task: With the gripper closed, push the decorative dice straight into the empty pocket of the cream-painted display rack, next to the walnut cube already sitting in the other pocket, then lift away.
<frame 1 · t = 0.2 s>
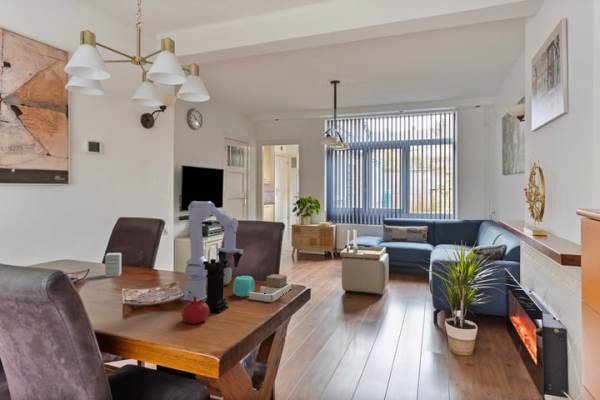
hand: (229, 266, 184), 10 cm above the table, fingers open, 7 cm apart
decorative dice: (243, 294, 168), on the table
supplement box: (113, 275, 203), on the table
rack: (270, 294, 169), on the table
teacup: (223, 284, 187), on the table
pomegranate: (195, 321, 131), on the table
chess piece: (215, 310, 144), on the table
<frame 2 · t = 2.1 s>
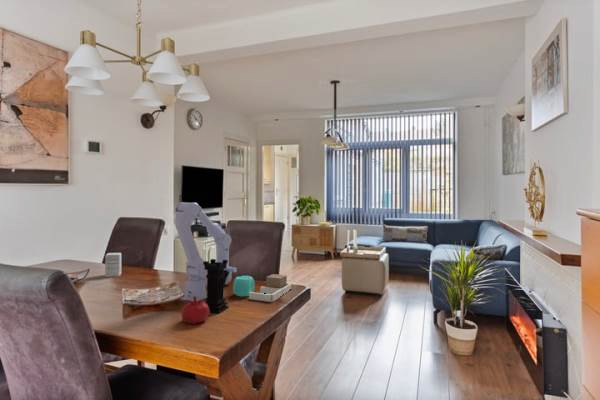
hand: (222, 285, 172), 3 cm above the table, fingers closed
nothing on the table moved.
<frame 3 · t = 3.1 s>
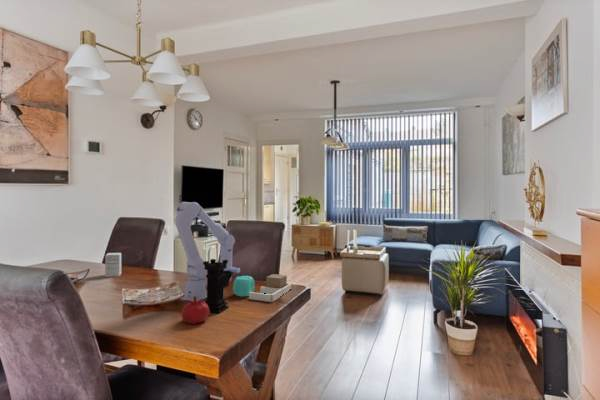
hand: (225, 286, 171), 3 cm above the table, fingers closed
nothing on the table moved.
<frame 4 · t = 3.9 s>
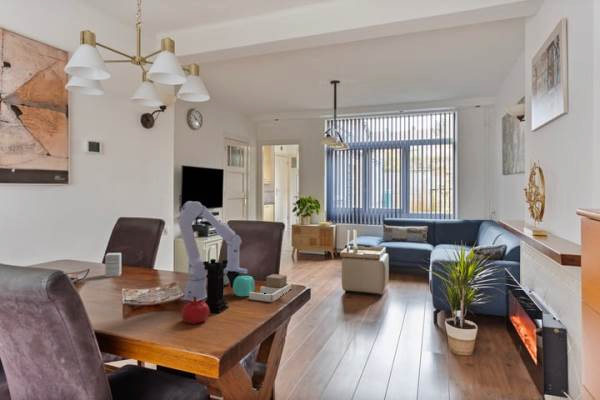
hand: (232, 287, 170), 3 cm above the table, fingers closed
decorative dice: (243, 294, 168), on the table, touching gripper
everything else where it was.
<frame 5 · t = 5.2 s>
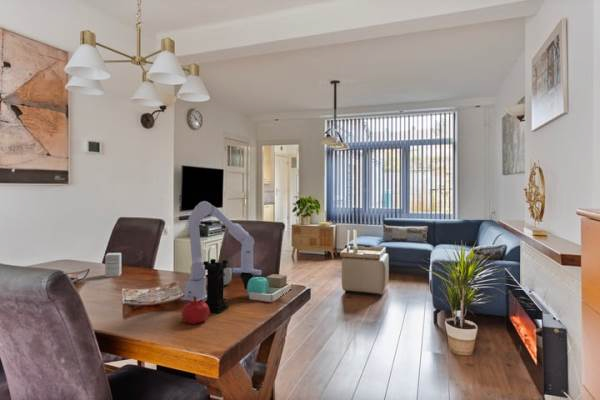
hand: (246, 288, 167), 3 cm above the table, fingers closed
decorative dice: (257, 296, 165), on the table, touching gripper
everything else where it was.
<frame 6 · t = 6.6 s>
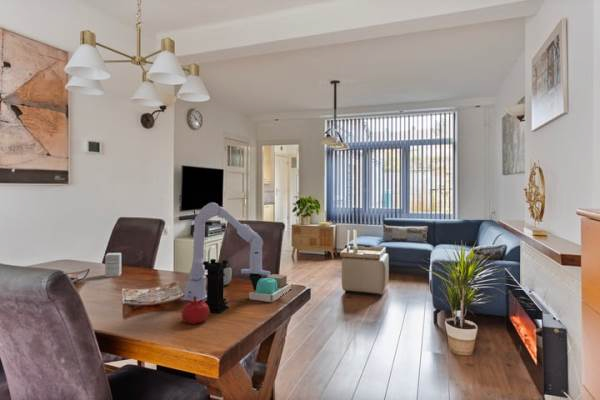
hand: (255, 289, 166), 3 cm above the table, fingers closed
decorative dice: (266, 297, 163), on the table, touching gripper, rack
everything else where it was.
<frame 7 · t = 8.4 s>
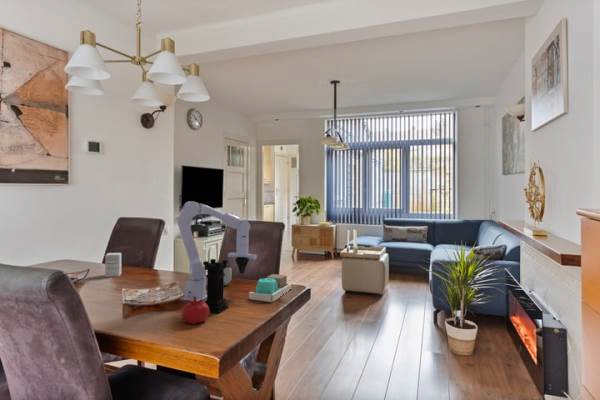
hand: (242, 273, 169), 10 cm above the table, fingers closed
decorative dice: (266, 297, 163), on the table
everything else where it was.
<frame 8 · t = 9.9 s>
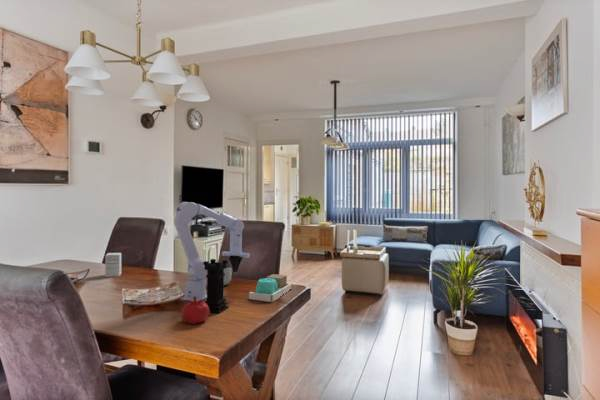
hand: (235, 271, 172), 10 cm above the table, fingers closed
nothing on the table moved.
at the end: decorative dice inside the target area on the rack (0.2 cm from its centre), point 0.0 cm above the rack's base; decorative dice tilted 0°; decorative dice moved 12.2 cm from its start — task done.
